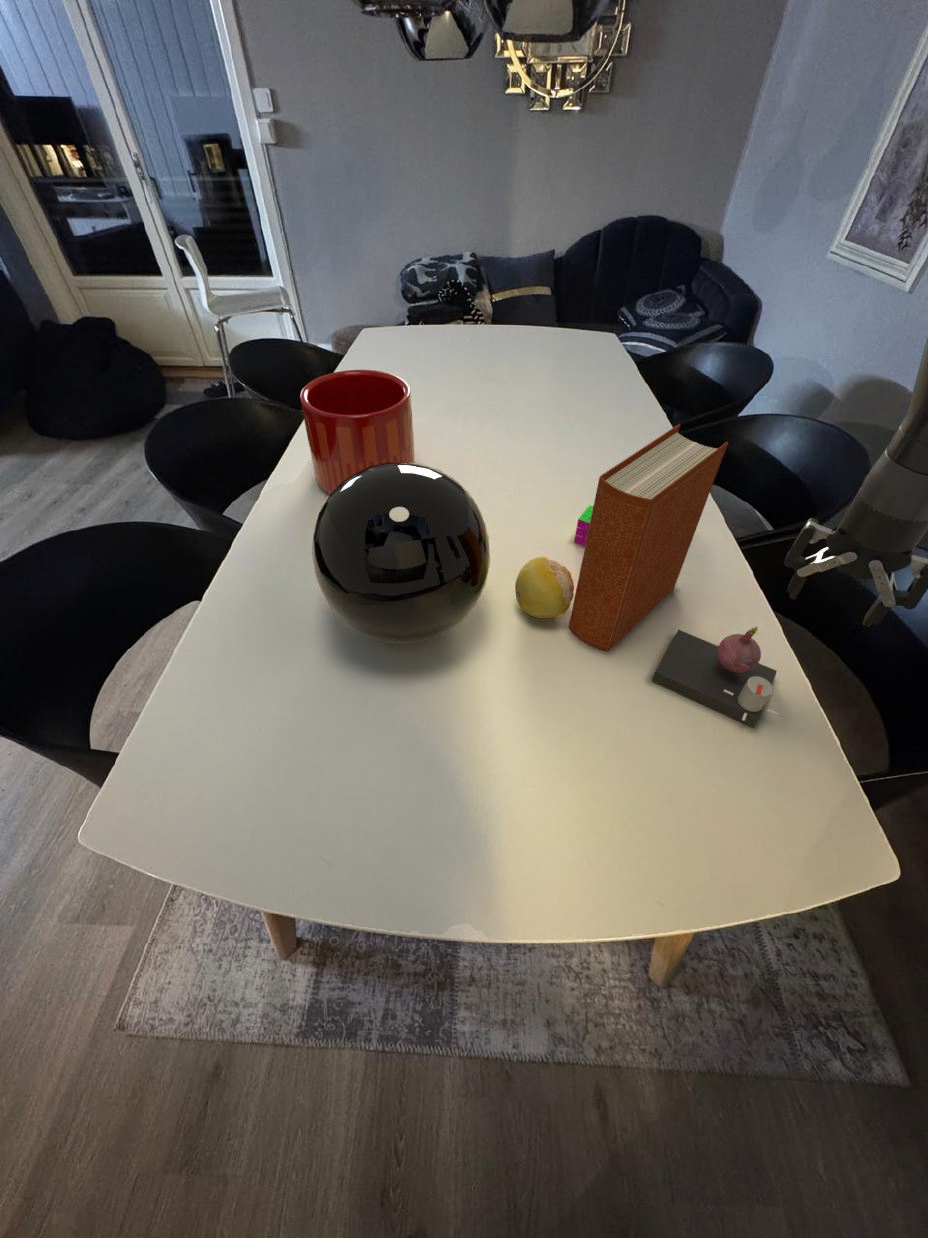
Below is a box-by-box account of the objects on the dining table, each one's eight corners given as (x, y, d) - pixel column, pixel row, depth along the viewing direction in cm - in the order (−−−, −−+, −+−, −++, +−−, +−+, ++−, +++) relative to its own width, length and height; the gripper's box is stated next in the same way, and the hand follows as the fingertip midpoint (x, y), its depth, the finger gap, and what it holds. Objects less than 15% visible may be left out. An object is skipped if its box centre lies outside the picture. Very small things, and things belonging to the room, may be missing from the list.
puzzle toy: (610, 536, 118) (616, 513, 114) (600, 551, 114) (605, 528, 110) (584, 528, 120) (589, 504, 116) (573, 542, 116) (578, 518, 112)
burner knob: (740, 689, 87) (750, 671, 84) (764, 698, 86) (776, 681, 83) (735, 705, 85) (745, 688, 82) (760, 716, 84) (771, 698, 80)
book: (635, 569, 110) (679, 423, 89) (673, 589, 106) (728, 442, 85) (564, 630, 99) (594, 479, 77) (604, 655, 95) (647, 503, 73)
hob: (783, 685, 91) (790, 675, 89) (763, 742, 83) (771, 732, 81) (674, 639, 98) (678, 628, 96) (647, 688, 90) (651, 677, 88)
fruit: (539, 638, 97) (546, 595, 90) (501, 602, 103) (504, 560, 96) (582, 614, 102) (592, 572, 94) (543, 581, 108) (549, 539, 101)
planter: (322, 452, 140) (307, 369, 126) (415, 450, 141) (411, 368, 127) (309, 505, 124) (291, 417, 110) (415, 503, 125) (410, 415, 111)
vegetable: (718, 685, 88) (741, 641, 80) (704, 654, 92) (724, 611, 85) (756, 683, 88) (783, 640, 81) (740, 653, 92) (764, 609, 85)
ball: (320, 577, 108) (289, 441, 88) (462, 554, 113) (464, 421, 93) (336, 692, 89) (302, 552, 69) (506, 658, 94) (520, 518, 74)
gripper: (820, 492, 60) (763, 603, 72) (979, 538, 55) (889, 650, 66) (833, 463, 65) (777, 571, 76) (981, 503, 59) (896, 613, 71)
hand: (829, 608), depth 71 cm, fingers open, 8 cm apart
